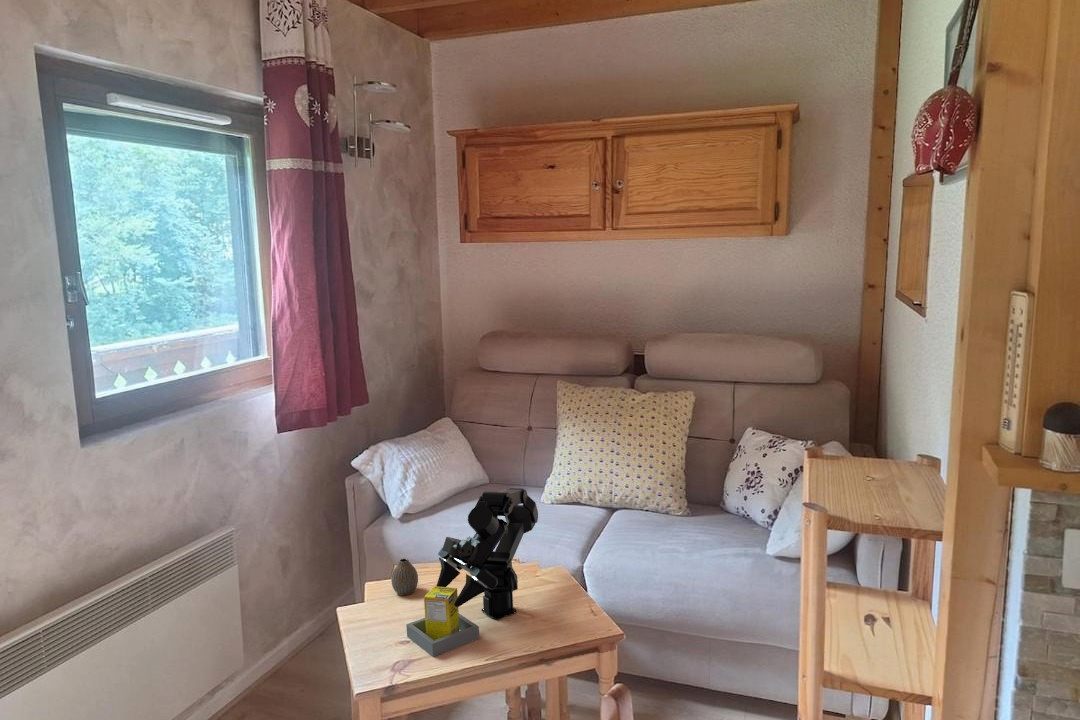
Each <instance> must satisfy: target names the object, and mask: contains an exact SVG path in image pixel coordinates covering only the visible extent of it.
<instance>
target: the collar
mask: <svg viewBox="0 0 1080 720" xmlns="http://www.w3.org/2000/svg"><path fill="white" fill-rule="evenodd" d="M459 629H460V631H459V632H456V633H453V634H451V635H448V636H445V637H443V638H440V639H437V640H435V641H434V640H432V639H431V638H430V637H428V636H427V635H426V623H425V617H424V618H421V619H417V620H415V621H412V622H409V623H407V624H406V636H407V638H409V639H410V641H412V642H414V643H415V644H416V645H417V646H419V647H420V648H421V649H422V650H424V651H425V652H426V653H427V654H428V655H430V656H431V657H432V658H433V657H437V656H439V655H441V654H444V653H447V652H449V651H452V650H455V649H457V648H460V647H462V646H465V645H467V644H470V643H473V642H475V641H478V640H480V627H479V626H478V625H477V624H476V623H474V622H473V621H471V620H469V619H468V618H467V617H465V616H464V615H462V614H460V613H459Z"/></svg>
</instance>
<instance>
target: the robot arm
mask: <svg viewBox="0 0 1080 720" xmlns="http://www.w3.org/2000/svg"><path fill="white" fill-rule="evenodd" d="M500 516H501V517H504V518H505V520H504V519H502V518H499V517H500ZM538 519H539V511H538V506H537V503H536V501H534V500H533V499H532V497H530V496H529V495H528V492H527V489H524V488H522V487H521V488H520V487H519V488H518V487H515V488H514V487H509V488H507V489H506V490H503V491H483V492H482V493H481V495H480V496H479V498H478V499H477V502H476V504H475V506H474V508H472V509H471V510H470V511H469V514H467V523H468V525H469V526H470V527H471V529H473V531H474V532H475V533H474V535H473V536H467V537H466V538H465V539H462V540H461V539H459V538H454V537H450V536H446V538H445V540H444V543H443V546H442V548H441V549H440V550H439V551H438V553H437V555H438V556H439V557H438V560H439V562H440V566H441V569H440V573H439V575H438V580H437V582H436V583H437V584H436V585H435V586H437V587H448V586H449V585H450V584H452V582H453V581H454V580H456V578H457V577H458V576H459V575H460V574H461V572H460V571H461V570H464V571H466V572H468V573H469V574H467V573H466V574H465V584H464V586H463V587H462V589H461V591H460V592H459V594H458V598H457V600H456V602H455V604H454V606H456V607H458V608H459V607H461V606H463V605H464V604H465V603H468V602H469V601H470V600H472V599H474V598H476V597H478V596H480V595H481V594H483V596H482V604H483V605H482V606H483V608H481V612H482V611H484V612H485V613H486V614H485V613H484V612H483V613H484V614H485V615H487V616H488V615H489V617H490V618H491V619H493V620H495V621H496V620H500V619H502V618H505V617H507V616H511V615H513V614H515V613H517V612H518V609H516V608H515V607H514V595H513V593H514V591H517V590H518V582H519V581H518V575H517V573H516V571H515V570H514V568H513V563H512V561H513V559H514V557H515V554H516V553H517V550H518V547H519V546H520V543H521V541H522V538H523V536H524V534H527V533H528V532H531V531H532V530H533V529H534V528H535V526H536V524H537V523H538ZM483 609H484V610H483Z"/></svg>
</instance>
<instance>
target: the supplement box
mask: <svg viewBox="0 0 1080 720" xmlns="http://www.w3.org/2000/svg"><path fill="white" fill-rule="evenodd" d="M458 596H459V594H458V587H448V586H447V587H437V586H436V585H434V586H432V587H431V589H429V591H428V592H426V594H425V595H424V597H423V604H424V618H425V623H426V632H425V634H426V635H427V636H428V637H430V638H431V639H432V640H434V641H435V640H437V639H440V638H443V637H445V636H448V635H451V634H453V633H456V632H459V631H461V630H460V629H459V614H460V611H459V607H456V606H454V604H455V602H456V600H457V598H458Z"/></svg>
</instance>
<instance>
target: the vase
mask: <svg viewBox="0 0 1080 720" xmlns="http://www.w3.org/2000/svg"><path fill="white" fill-rule="evenodd" d="M391 573H392V574H391V580H390V581H391V585H392V588H393V591H394V592H395V593H396V594H398V595H399V596H409V595H412V594H413V593H414V592H415V591H416V589H417V588H418V584H419V574H418V571H417V569H416V568H415V566H414V565H413V564H412V563H411V562H410V560H409V559H408V558H401V559H399V560H398V562H397V564H396V566H395V568H394V569H393V571H392V572H391Z"/></svg>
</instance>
